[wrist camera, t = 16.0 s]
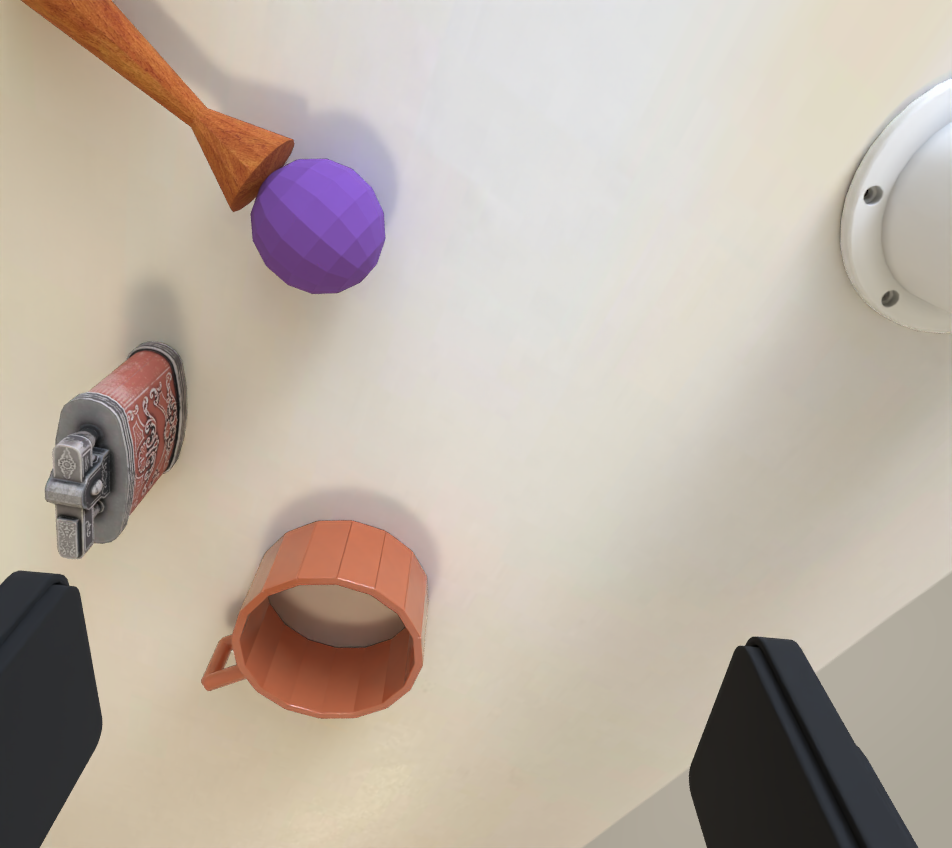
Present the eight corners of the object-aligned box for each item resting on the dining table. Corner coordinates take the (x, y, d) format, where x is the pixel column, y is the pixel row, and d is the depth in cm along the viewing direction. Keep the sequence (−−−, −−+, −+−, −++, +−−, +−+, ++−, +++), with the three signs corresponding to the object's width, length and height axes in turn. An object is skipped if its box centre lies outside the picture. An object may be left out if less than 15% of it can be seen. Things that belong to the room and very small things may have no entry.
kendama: (-12, -178, 25) (409, 225, 29) (70, -102, 30) (412, 225, 35) (-106, -42, 25) (318, 328, 30) (-9, 8, 31) (334, 312, 36)
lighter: (126, 335, 37) (16, 416, 28) (190, 348, 38) (101, 433, 29) (125, 461, 41) (28, 569, 32) (184, 472, 41) (104, 582, 32)
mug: (380, 496, 42) (368, 552, 37) (454, 623, 47) (452, 688, 42) (179, 571, 45) (143, 633, 40) (268, 685, 49) (245, 753, 44)
